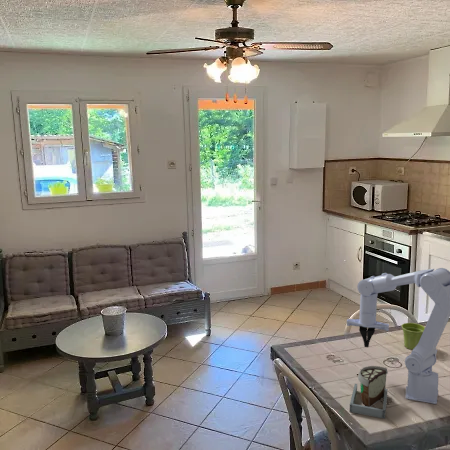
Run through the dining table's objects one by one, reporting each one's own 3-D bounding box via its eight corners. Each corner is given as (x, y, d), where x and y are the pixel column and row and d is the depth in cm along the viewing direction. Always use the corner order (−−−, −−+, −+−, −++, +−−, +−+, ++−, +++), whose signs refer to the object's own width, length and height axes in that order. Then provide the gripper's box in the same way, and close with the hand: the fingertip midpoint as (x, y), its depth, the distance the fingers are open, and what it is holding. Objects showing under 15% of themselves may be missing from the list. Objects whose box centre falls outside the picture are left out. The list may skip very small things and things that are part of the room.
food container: (370, 388, 160) (371, 361, 158) (386, 395, 155) (387, 367, 153) (349, 402, 152) (350, 373, 150) (366, 409, 147) (367, 380, 145)
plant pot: (426, 345, 193) (427, 325, 191) (422, 354, 185) (423, 333, 183) (403, 340, 198) (404, 321, 196) (398, 348, 190) (399, 328, 188)
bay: (387, 396, 155) (387, 389, 154) (384, 418, 142) (385, 411, 142) (354, 390, 159) (354, 383, 158) (349, 411, 146) (349, 404, 146)
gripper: (389, 309, 167) (388, 344, 170) (348, 304, 173) (347, 338, 175) (388, 316, 161) (387, 352, 163) (346, 311, 166) (345, 346, 169)
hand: (366, 346), depth 169 cm, fingers closed
